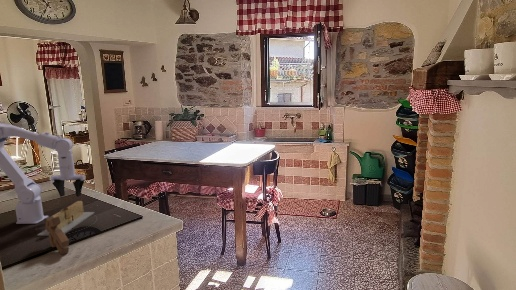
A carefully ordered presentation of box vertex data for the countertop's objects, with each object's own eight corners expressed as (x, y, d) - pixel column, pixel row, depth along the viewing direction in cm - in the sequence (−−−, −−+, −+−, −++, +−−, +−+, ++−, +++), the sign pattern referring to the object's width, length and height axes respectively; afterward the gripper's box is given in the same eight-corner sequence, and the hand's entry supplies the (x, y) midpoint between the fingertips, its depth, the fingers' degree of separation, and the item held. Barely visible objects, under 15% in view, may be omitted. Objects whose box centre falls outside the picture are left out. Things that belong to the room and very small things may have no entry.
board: (62, 235, 136) (61, 234, 135) (37, 235, 136) (37, 234, 136) (94, 213, 159) (94, 212, 159) (73, 213, 160) (73, 212, 160)
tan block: (69, 224, 145) (67, 210, 144) (61, 224, 146) (59, 210, 145) (85, 213, 157) (83, 200, 156) (77, 213, 158) (76, 201, 157)
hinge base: (57, 232, 138) (54, 217, 137) (49, 232, 138) (47, 217, 137) (74, 221, 149) (72, 207, 148) (66, 221, 149) (64, 207, 148)
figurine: (60, 263, 121) (45, 237, 129) (68, 261, 123) (52, 235, 131) (61, 234, 116) (45, 208, 124) (69, 232, 117) (52, 207, 126)
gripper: (44, 168, 149) (49, 198, 152) (77, 168, 148) (80, 198, 150) (55, 164, 156) (59, 193, 159) (86, 164, 155) (90, 193, 157)
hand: (70, 196), depth 155 cm, fingers open, 7 cm apart
